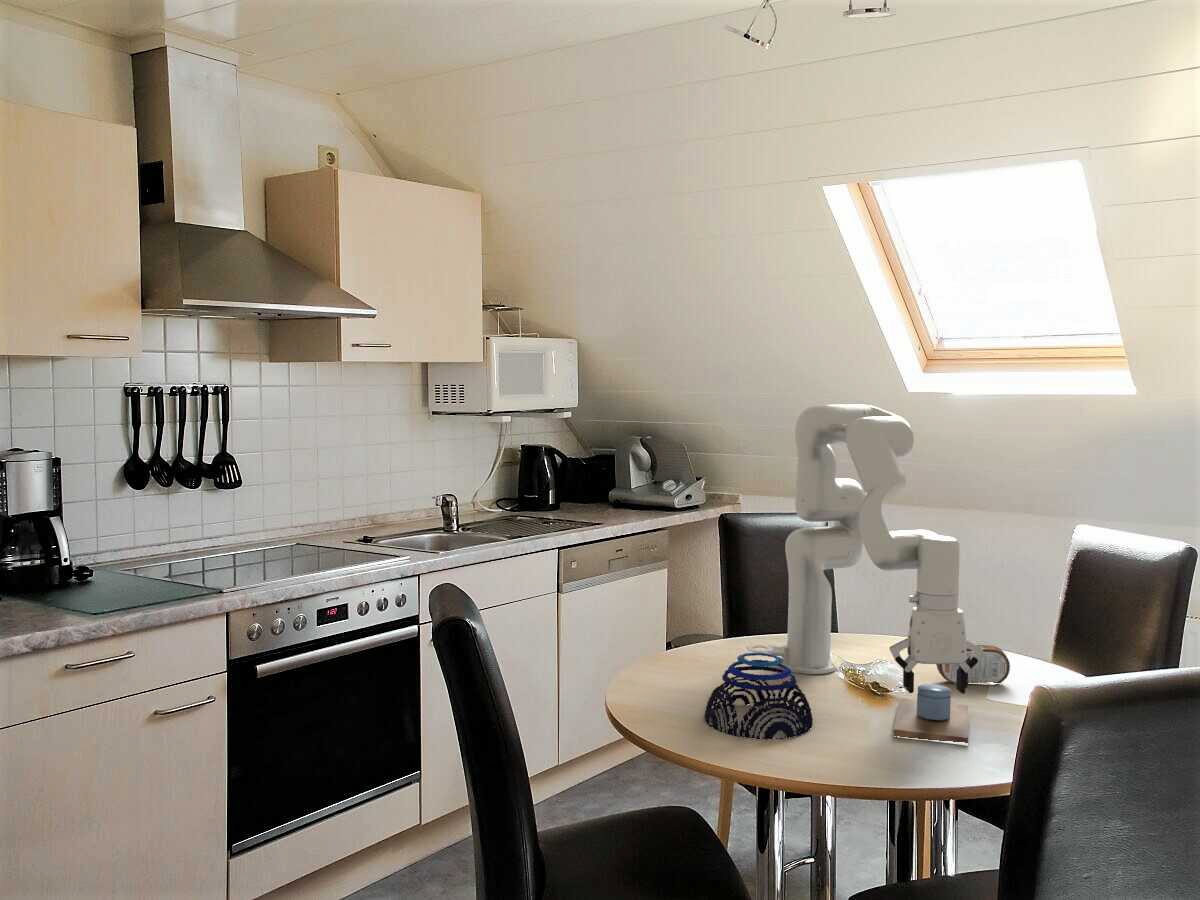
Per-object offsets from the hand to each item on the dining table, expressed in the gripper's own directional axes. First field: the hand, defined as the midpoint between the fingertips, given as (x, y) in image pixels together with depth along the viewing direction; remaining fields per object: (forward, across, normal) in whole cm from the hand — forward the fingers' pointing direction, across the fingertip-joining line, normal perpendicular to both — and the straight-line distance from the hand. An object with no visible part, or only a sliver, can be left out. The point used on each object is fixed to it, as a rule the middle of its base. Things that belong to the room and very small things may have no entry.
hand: (935, 691), depth 207 cm
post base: (+7, 0, +1) cm, 7 cm away
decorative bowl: (+7, -33, +1) cm, 34 cm away
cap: (+5, 0, 0) cm, 5 cm away
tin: (+6, +16, +28) cm, 33 cm away
